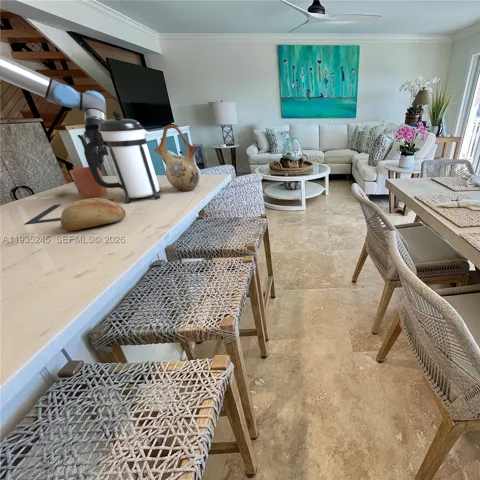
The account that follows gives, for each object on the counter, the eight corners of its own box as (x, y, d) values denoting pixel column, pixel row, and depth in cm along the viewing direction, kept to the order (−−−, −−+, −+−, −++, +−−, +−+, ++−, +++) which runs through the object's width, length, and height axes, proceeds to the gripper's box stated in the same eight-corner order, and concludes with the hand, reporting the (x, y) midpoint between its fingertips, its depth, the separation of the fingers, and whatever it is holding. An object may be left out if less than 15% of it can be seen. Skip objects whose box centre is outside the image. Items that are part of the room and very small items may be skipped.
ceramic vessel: (209, 186, 114) (196, 123, 103) (204, 192, 107) (190, 124, 95) (169, 188, 112) (152, 124, 101) (161, 194, 104) (141, 125, 93)
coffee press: (145, 189, 110) (119, 110, 96) (174, 193, 105) (151, 109, 91) (102, 202, 96) (64, 111, 82) (133, 207, 91) (99, 110, 77)
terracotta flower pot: (76, 199, 100) (64, 172, 95) (85, 192, 107) (75, 167, 103) (104, 196, 103) (93, 170, 98) (111, 190, 110) (101, 166, 105)
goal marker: (24, 224, 79) (24, 223, 79) (54, 205, 94) (53, 204, 94) (96, 216, 84) (96, 215, 84) (113, 199, 99) (113, 198, 99)
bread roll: (128, 224, 78) (119, 198, 74) (62, 238, 70) (48, 210, 67) (127, 214, 85) (118, 190, 81) (66, 226, 77) (53, 200, 74)
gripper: (117, 128, 123) (119, 172, 117) (83, 129, 119) (84, 174, 113) (109, 116, 116) (111, 162, 110) (73, 117, 112) (73, 164, 106)
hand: (97, 168), depth 111 cm, fingers closed
